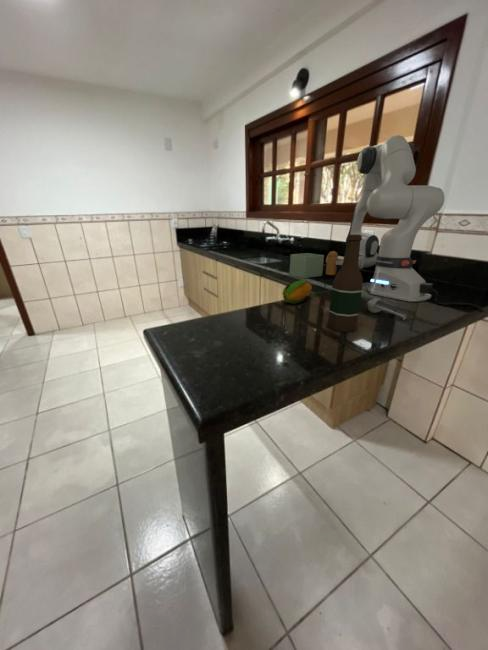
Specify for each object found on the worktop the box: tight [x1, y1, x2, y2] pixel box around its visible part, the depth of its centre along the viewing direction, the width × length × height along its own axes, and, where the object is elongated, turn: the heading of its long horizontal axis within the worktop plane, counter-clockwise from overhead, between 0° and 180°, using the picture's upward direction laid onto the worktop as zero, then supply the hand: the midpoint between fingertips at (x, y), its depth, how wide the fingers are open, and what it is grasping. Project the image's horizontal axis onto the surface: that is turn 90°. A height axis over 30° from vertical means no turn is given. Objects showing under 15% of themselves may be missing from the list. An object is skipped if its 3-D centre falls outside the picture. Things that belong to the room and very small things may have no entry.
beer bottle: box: [327, 234, 364, 333], centre depth 67 cm, size 8×8×24 cm
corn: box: [281, 279, 313, 305], centre depth 96 cm, size 7×8×20 cm
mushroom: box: [366, 297, 408, 321], centre depth 81 cm, size 7×5×12 cm
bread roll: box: [325, 250, 339, 276], centre depth 137 cm, size 5×5×12 cm
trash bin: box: [289, 252, 325, 279], centre depth 142 cm, size 12×12×11 cm
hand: (330, 262), depth 137 cm, fingers closed on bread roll, 5 cm apart
